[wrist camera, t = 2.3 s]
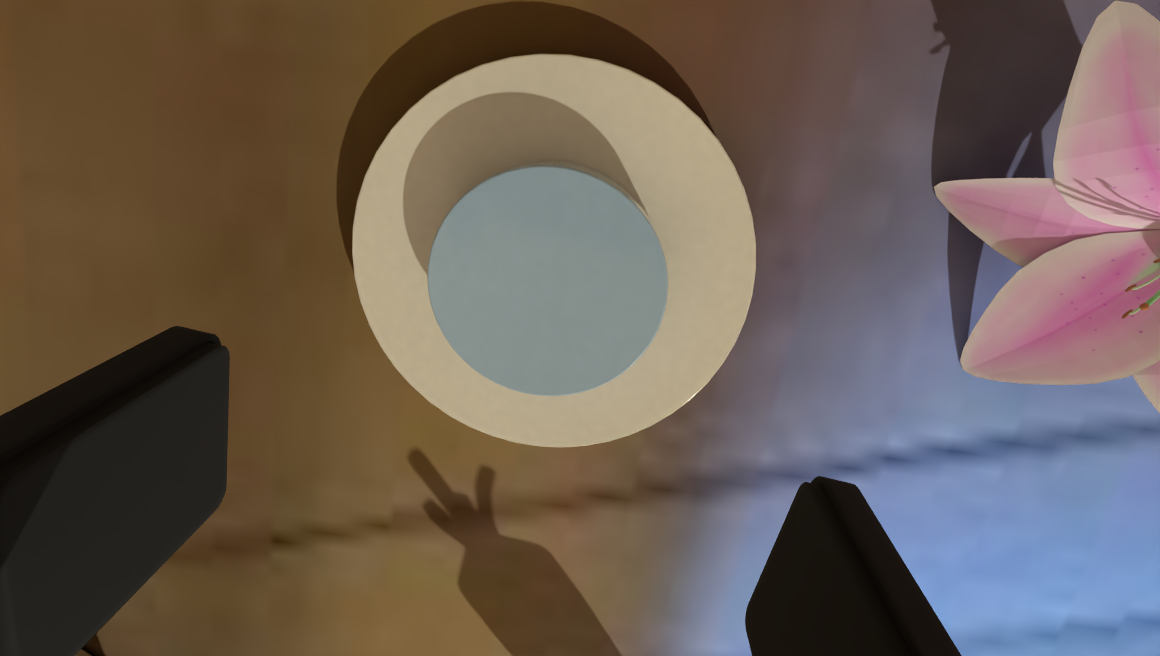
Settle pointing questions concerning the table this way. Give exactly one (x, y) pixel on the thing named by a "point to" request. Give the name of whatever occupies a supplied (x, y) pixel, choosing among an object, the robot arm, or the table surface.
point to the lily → (1080, 228)
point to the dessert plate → (574, 135)
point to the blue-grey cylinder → (548, 278)
